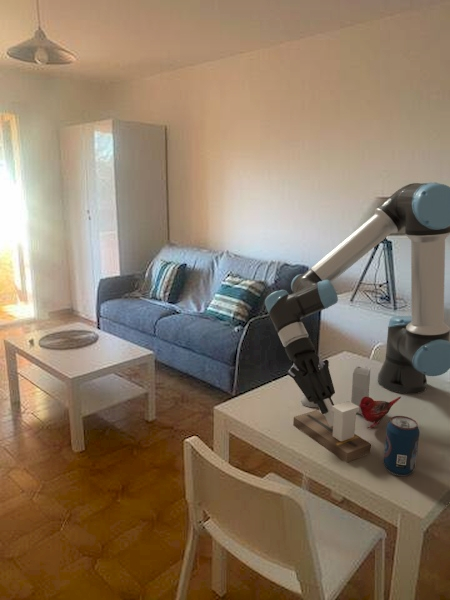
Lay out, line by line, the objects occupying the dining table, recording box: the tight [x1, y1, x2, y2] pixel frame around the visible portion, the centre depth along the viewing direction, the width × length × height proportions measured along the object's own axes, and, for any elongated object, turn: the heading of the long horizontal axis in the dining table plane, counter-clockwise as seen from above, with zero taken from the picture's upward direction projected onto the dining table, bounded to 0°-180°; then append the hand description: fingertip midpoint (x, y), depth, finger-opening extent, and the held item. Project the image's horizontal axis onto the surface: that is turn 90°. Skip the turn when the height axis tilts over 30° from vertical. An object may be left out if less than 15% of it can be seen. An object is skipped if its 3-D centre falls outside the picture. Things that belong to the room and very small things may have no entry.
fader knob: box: [332, 400, 359, 442], centre depth 113 cm, size 4×6×8 cm, turn 120°
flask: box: [300, 394, 319, 408], centre depth 137 cm, size 7×7×10 cm
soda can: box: [383, 415, 420, 477], centre depth 105 cm, size 7×7×12 cm
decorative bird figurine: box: [359, 396, 402, 429], centre depth 124 cm, size 3×18×10 cm, turn 123°
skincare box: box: [350, 366, 371, 415], centre depth 133 cm, size 6×4×12 cm
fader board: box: [292, 409, 372, 463], centre depth 118 cm, size 20×8×3 cm, turn 30°
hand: (335, 424), depth 116 cm, fingers closed
